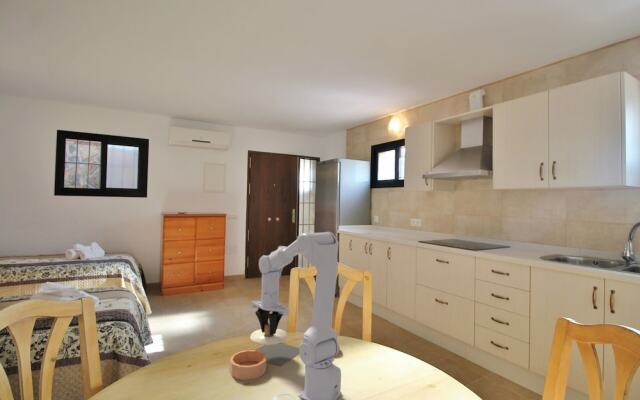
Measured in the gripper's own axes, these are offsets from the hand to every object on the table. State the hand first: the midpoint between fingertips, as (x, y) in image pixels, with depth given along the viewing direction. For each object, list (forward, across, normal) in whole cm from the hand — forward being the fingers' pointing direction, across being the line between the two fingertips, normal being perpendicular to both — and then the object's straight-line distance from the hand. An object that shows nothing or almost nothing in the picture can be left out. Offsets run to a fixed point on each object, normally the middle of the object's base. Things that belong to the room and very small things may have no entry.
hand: (268, 332), depth 108 cm
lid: (+1, 0, 0) cm, 1 cm away
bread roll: (+9, -14, -16) cm, 23 cm away
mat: (+9, 0, -5) cm, 10 cm away
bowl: (+9, 0, +9) cm, 13 cm away
